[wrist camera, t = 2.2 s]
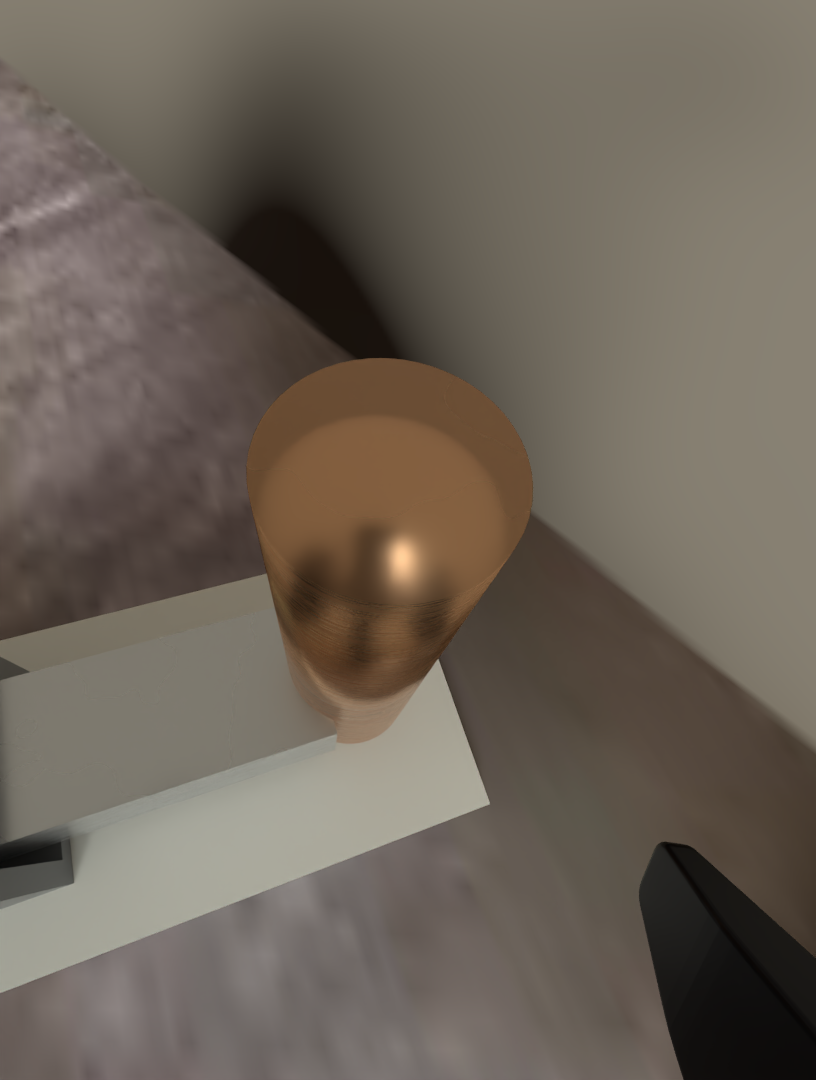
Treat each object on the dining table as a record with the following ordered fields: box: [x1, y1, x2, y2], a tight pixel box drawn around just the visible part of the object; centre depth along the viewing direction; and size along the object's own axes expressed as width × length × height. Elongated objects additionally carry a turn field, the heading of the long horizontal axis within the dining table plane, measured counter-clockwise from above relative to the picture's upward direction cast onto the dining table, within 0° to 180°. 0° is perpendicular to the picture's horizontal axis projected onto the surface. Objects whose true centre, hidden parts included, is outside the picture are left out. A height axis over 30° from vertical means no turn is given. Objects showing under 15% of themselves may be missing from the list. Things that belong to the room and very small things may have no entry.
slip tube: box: [0, 358, 533, 862], centre depth 11 cm, size 16×3×12 cm, turn 109°
